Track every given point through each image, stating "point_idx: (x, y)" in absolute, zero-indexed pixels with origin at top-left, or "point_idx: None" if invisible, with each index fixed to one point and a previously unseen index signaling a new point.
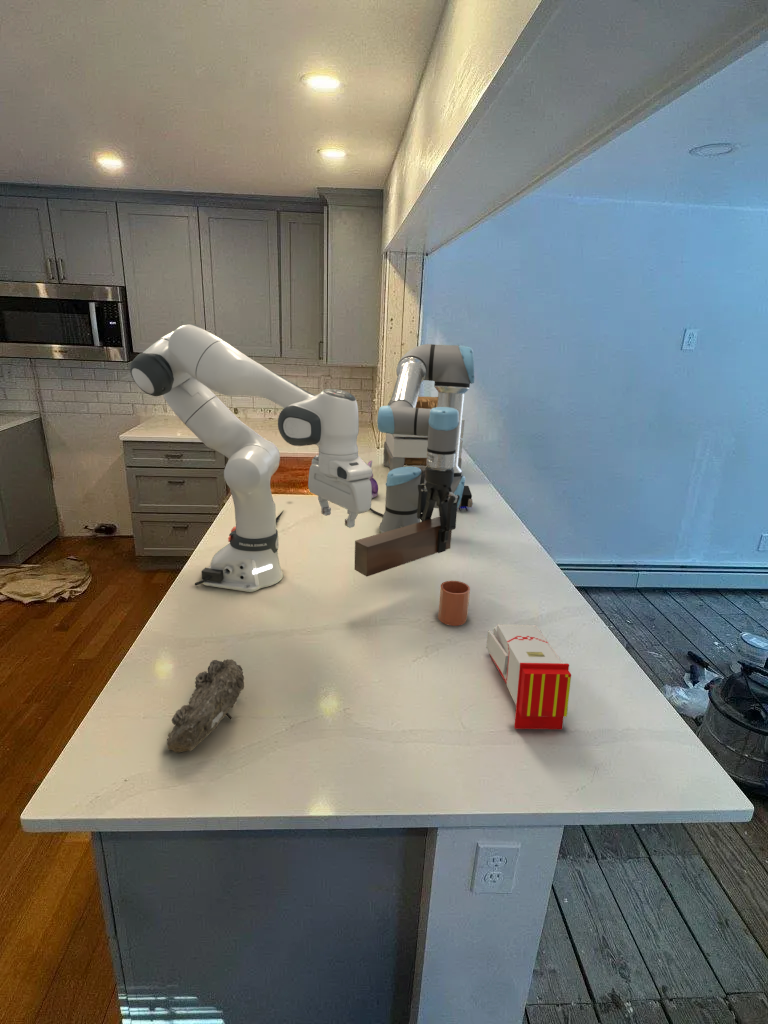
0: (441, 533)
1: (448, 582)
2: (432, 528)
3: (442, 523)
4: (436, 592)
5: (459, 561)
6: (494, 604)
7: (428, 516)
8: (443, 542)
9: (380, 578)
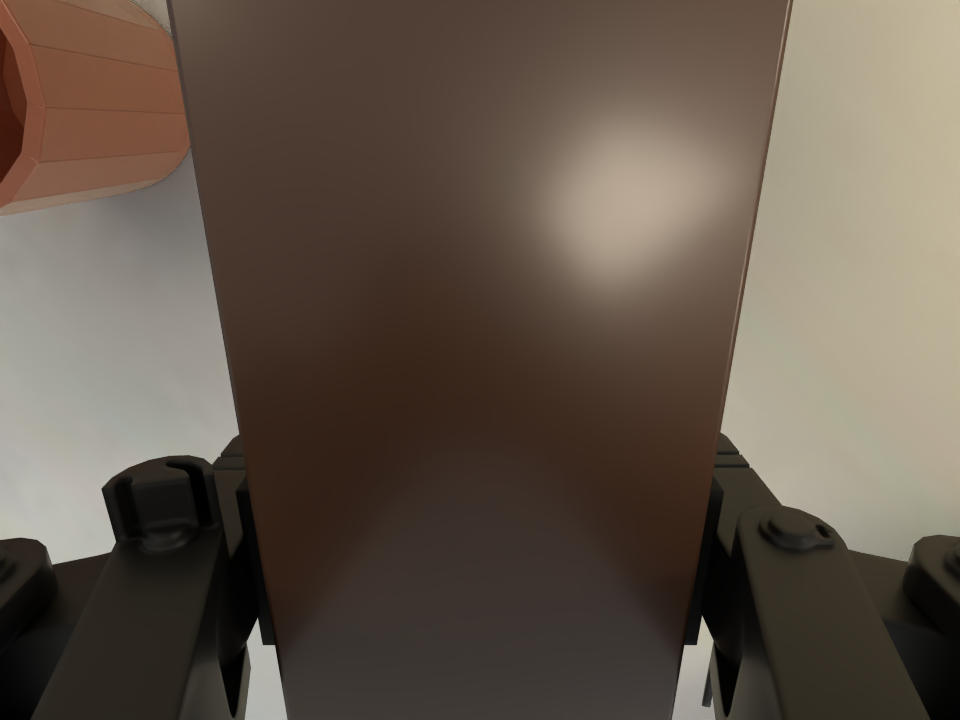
0: None
1: (31, 111)
2: (233, 348)
3: (111, 638)
4: None
5: None
6: (138, 425)
7: (741, 700)
8: None
9: (816, 86)
